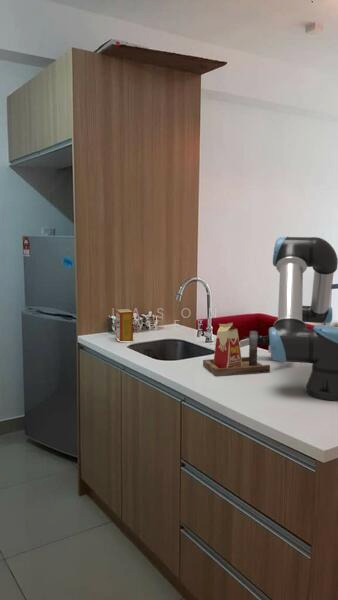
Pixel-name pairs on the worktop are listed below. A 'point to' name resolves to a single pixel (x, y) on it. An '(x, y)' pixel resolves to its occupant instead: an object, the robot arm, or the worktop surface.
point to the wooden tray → (247, 362)
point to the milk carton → (227, 347)
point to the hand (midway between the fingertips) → (254, 346)
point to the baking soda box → (124, 325)
